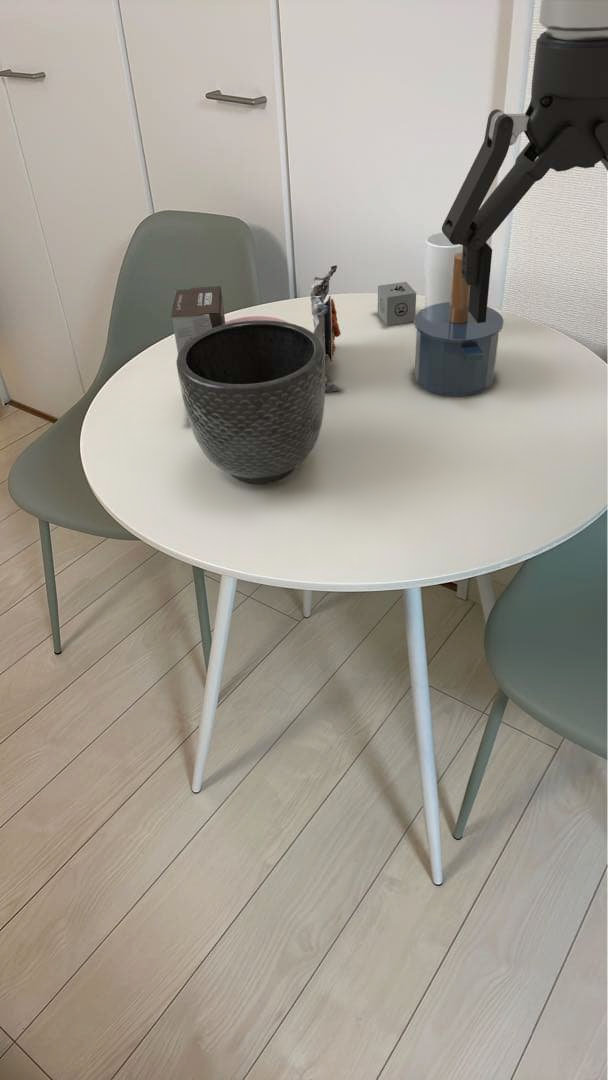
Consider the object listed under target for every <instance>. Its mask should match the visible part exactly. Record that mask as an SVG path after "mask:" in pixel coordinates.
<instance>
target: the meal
mask: <svg viewBox="0 0 608 1080" xmlns="http://www.w3.org/2000/svg"><path fill="white" fill-rule="evenodd" d="M337 269H338V265H331V266H330V270H329V271H328V273H326V274H324V276H323V277H322V278H320V277H317V276H314V278H313V282H312V284H310V289H311V293H310V302H311V304H310V306H311V315H312V317H313V319H312V321H313V326H314V330H313V332H312V333H313V334H315V335H316V336H317V337H318V338H319V339H320V341H321V343H322V345H323V349H324V356H325V358H327V356H328V360H330V362H333V356H334V355H335V352H336V350H335V349H336V346H335V345H336V344H335V343H336V342H335V340H336V338H338V337H340V336H341V333H342V332H341V330H340V327H339V323H338V317H337V309H336V304H335V301H334V298H332V295H329V296H328V294H329V292H330V281H331V277H333V275H334V273H336V271H337ZM327 296H328V298H327ZM326 298H327V300H326ZM325 300H326V302H325ZM326 375H327V374H326V373H325V393H330V392H340V389H338V388H337V386H336V385H335V384H334V383H333V384H331V383H329V382H328V378H327V376H326Z"/></svg>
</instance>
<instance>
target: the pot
mask: <svg viewBox="0 0 608 1080" xmlns="http://www.w3.org/2000/svg"><path fill="white" fill-rule="evenodd" d="M499 335H500V332H499V333H498V334H497V335H495V336H493V337H491V338H489V339H486V340H482V341H478V342H471V343H450V342H442V341H438V340H434V339H431V338H428V337H426V336H424V335H422V334H421V333H420V332H418V331H417V330H416V337H415V338H416V339H415V340H416V341H415V359H414V360H415V361H414V378H415V381H416V384H418V385H419V387H421V388H422V389H423V390H425V391H427V392H429V393H432V394H435V395H439V396H444V397H467V396H468V397H469V396H473V395H476V394H481V393H482V392H484V391H486V390H487V389H488V388H490V387H491V386H492V384H493V381H494V375H495V368H496V361H497V353H498V351H497V350H498V345H499V338H500V337H499Z"/></svg>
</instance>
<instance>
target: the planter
mask: <svg viewBox="0 0 608 1080" xmlns="http://www.w3.org/2000/svg"><path fill="white" fill-rule="evenodd" d="M287 322H288V321H286V322H280V321H270V320H252V321H242V322H235V323H230V324H225V325H222V326H218V327H215V328H212V329H209V330H207V331H205V332H203V333H200V334H198V335H197V336H195V337H194V338H192V339H191V340H189V341H188V342H187V343H186V344H185V345H184V346H183V347H182V348H181V350H180V352H179V354H178V353H177V358H176V370H177V376H178V381H179V385H180V386H179V387H180V391H181V397H182V402H183V404H184V407H185V412H186V416H187V420H188V422H189V425H190V429H191V431H192V434H193V437H194V439H195V440H196V442H197V445H198V446H199V449H200V450H201V452H202V453H203V454H204V455H205V457H206V458H207V459H208V460H209V461H210V462H211V463H212V464H213V465H215V466H216V467H217V468H219V469H220V470H222V471H224V472H225V473H227V474H230V475H231V476H232V477H233V478H234V479H235V480H238V481H239V482H242V483H246V484H251V485H268V484H273V483H276V482H279V481H281V480H283V479H285V478H286V477H288V476H289V475H291V474H292V473H293V472H294V471H295V469H296V468H297V467H298V466H299V465H300V464H301V463H303V462H304V461H305V460H306V459H307V458H308V457H309V455H310V454H311V452H312V451H313V450H314V448H315V446H316V444H317V442H318V439H319V437H320V434H321V430H322V426H323V420H324V413H325V400H326V392H325V377H326V376H325V374H326V357H325V356H324V349H323V345H322V343H321V341H320V339H319V338H318V337H317V336H316V335H315V334H313V332H312V331H311V330H309V329H307V328H305V327H303V326H300V325H298V324H294V323H290V322H288V323H287Z"/></svg>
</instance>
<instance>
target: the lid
mask: <svg viewBox="0 0 608 1080" xmlns="http://www.w3.org/2000/svg"><path fill="white" fill-rule="evenodd" d="M461 266H462V253H458V254H455V255H454V263H453V276H452V289H451V302H446V303H439V304H435V305H431V306H429V307H426V308H425V307H424V308H422V309H421V310H419V311H418V312H417V313H415V318H414V322H413V326H414V328H415V329H416V332H417V331H418V332H420V333H421V334H422V335H424V336H426V337H428V338H431V339H434V340H438V341H442V342H450V343H471V342H478V341H482V340H486V339H489V338H491V337H493V336H495V335H497V334H498V333H499V334H500V332H502V329H503V327H504V321H505V320H504V318H503V315H501V313H500V312H498V311H497V310H496V309H494V308H491V307H489V306H487V313H486V322H483V323H477V322H476V320H475V319H474V318H473V316H472V315H471V313H470V312H469V311H468V309H469V296H470V285H467V284H466V282H465V281H464V280H463V278H462V275H461V268H462V267H461Z"/></svg>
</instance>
